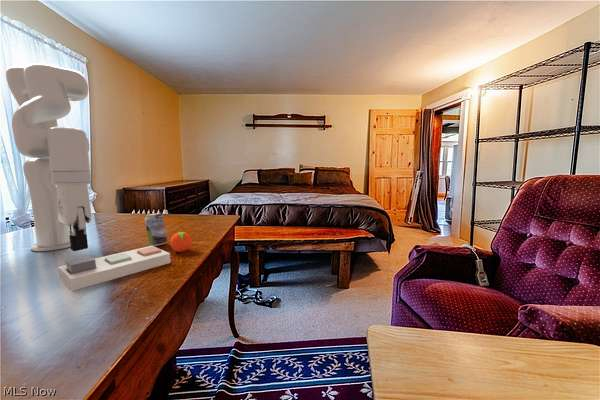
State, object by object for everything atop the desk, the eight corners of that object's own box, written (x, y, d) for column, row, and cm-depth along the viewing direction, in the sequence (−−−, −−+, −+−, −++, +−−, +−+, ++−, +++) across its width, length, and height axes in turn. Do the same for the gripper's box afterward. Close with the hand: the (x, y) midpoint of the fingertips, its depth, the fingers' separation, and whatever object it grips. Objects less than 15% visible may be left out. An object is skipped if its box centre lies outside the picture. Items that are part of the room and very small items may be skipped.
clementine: (194, 253, 92) (193, 233, 91) (171, 257, 89) (170, 236, 88) (190, 247, 99) (190, 228, 98) (170, 249, 96) (168, 230, 95)
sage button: (105, 267, 78) (104, 257, 77) (125, 262, 82) (124, 253, 81) (112, 272, 75) (111, 261, 74) (131, 266, 79) (131, 256, 78)
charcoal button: (66, 271, 71) (65, 260, 71) (90, 265, 75) (89, 255, 75) (72, 276, 68) (70, 265, 68) (96, 270, 72) (95, 259, 71)
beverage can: (159, 248, 97) (157, 215, 96) (142, 246, 99) (139, 214, 97) (171, 243, 104) (169, 212, 102) (154, 241, 105) (152, 211, 103)
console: (59, 277, 73) (58, 266, 72) (152, 254, 91) (152, 245, 91) (72, 291, 65) (70, 279, 65) (170, 262, 84) (170, 253, 84)
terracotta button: (137, 259, 85) (137, 250, 84) (154, 255, 88) (153, 246, 88) (144, 263, 81) (144, 253, 81) (161, 258, 85) (161, 249, 85)
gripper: (45, 178, 70) (53, 247, 72) (59, 180, 60) (68, 259, 63) (81, 176, 75) (88, 241, 78) (99, 178, 66) (106, 251, 69)
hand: (79, 249), depth 70 cm, fingers closed
